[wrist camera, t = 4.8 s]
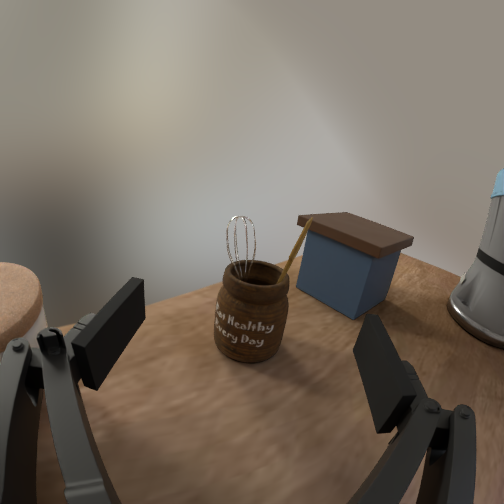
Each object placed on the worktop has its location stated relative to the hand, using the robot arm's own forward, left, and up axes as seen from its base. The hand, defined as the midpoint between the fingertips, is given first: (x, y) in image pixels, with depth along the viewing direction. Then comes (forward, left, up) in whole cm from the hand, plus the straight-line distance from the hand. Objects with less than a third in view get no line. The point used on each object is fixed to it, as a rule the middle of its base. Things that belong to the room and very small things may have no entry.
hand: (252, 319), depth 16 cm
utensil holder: (+5, -5, -7) cm, 10 cm away
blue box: (+6, -22, -7) cm, 24 cm away
